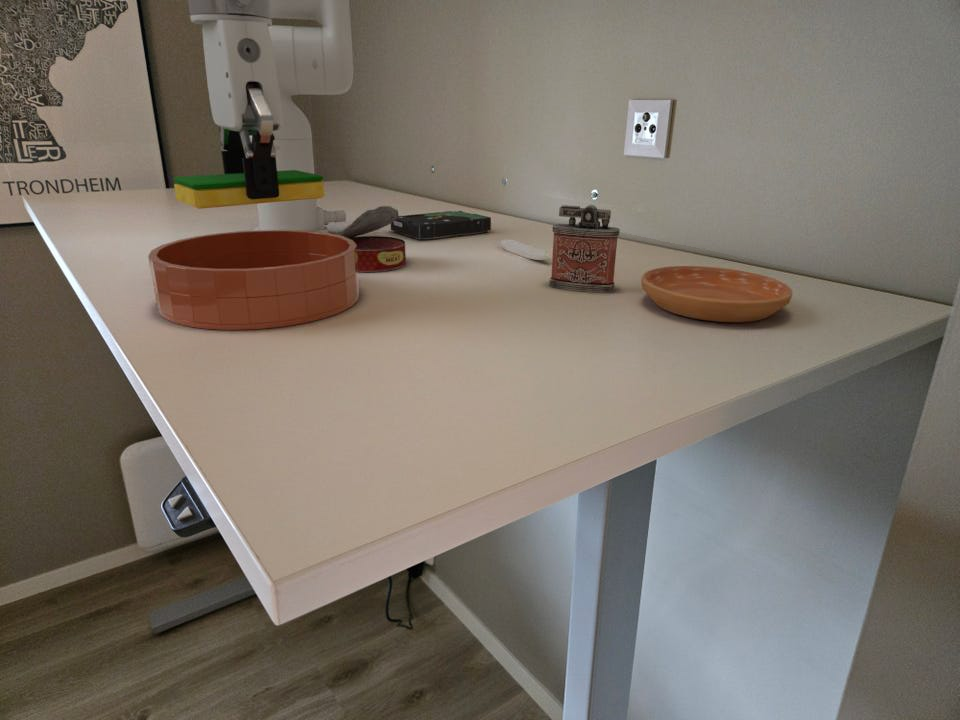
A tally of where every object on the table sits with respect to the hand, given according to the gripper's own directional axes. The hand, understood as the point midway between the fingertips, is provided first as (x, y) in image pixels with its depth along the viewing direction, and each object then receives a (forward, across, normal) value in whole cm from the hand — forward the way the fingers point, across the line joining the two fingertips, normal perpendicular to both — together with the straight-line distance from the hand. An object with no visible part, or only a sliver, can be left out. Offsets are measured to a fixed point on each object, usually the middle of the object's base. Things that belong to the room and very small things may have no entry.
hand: (251, 191), depth 70 cm
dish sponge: (+1, 0, 0) cm, 1 cm away
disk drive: (+13, +25, -39) cm, 48 cm away
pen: (+13, +2, -40) cm, 42 cm away
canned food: (+13, +9, -18) cm, 24 cm away
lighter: (+12, -16, -35) cm, 40 cm away
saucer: (+12, -30, -42) cm, 52 cm away
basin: (+12, -1, 0) cm, 12 cm away
